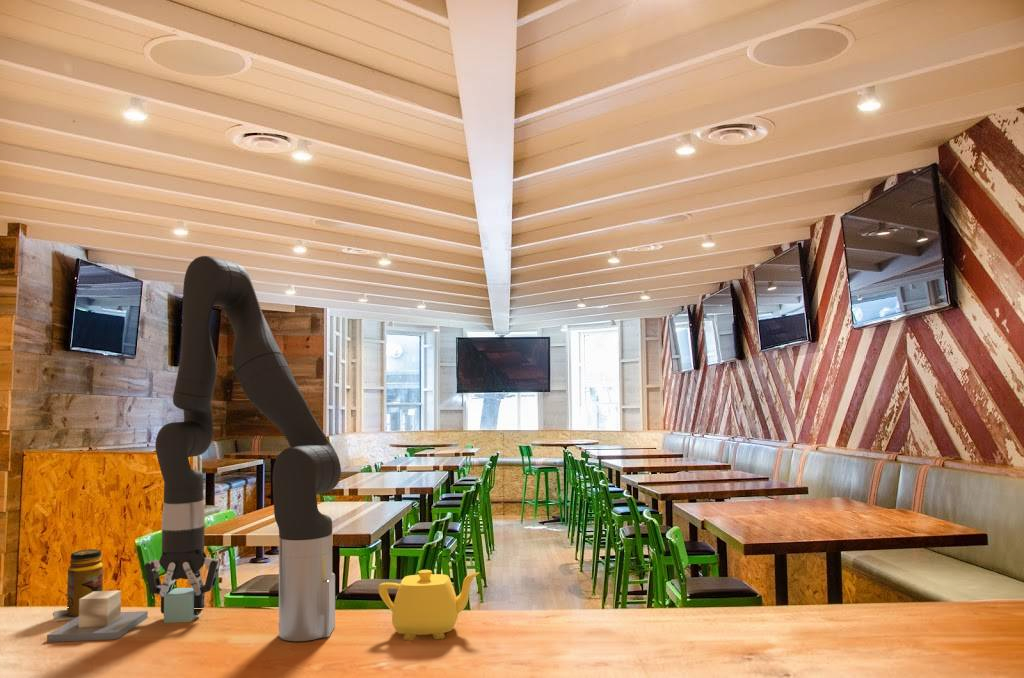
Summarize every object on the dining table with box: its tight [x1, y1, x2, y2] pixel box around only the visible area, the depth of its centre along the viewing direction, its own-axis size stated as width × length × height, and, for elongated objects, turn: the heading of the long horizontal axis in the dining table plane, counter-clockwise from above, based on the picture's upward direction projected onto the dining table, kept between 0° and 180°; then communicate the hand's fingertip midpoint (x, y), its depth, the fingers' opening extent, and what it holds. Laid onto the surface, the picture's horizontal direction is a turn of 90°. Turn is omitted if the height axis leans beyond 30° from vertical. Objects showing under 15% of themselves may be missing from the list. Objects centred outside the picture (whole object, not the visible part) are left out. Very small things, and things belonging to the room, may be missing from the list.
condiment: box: [53, 548, 104, 623], centre depth 143 cm, size 7×8×12 cm
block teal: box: [163, 587, 202, 624], centre depth 139 cm, size 5×5×5 cm
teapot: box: [377, 569, 480, 641], centre depth 128 cm, size 18×11×11 cm, turn 92°
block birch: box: [79, 590, 122, 627], centre depth 133 cm, size 5×5×5 cm
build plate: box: [46, 610, 149, 643], centre depth 133 cm, size 12×12×1 cm
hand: (182, 614), depth 139 cm, fingers closed on block teal, 5 cm apart
